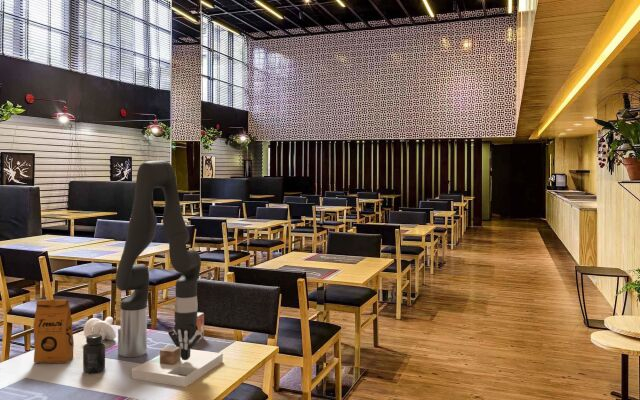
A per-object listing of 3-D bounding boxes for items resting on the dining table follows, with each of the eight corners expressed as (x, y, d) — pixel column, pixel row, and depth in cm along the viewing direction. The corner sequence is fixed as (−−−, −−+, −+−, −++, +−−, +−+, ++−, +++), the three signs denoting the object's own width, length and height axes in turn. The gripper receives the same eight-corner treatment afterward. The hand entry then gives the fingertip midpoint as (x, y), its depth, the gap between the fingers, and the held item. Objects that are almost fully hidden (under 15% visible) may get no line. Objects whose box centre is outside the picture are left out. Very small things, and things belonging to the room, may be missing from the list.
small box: (195, 343, 201) (195, 317, 200) (182, 342, 202) (182, 316, 202) (204, 337, 209) (204, 312, 208) (191, 336, 210) (191, 311, 209)
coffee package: (66, 365, 175) (66, 302, 174) (29, 365, 174) (29, 302, 173) (78, 355, 184) (78, 296, 184) (43, 355, 184) (43, 296, 183)
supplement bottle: (109, 369, 172) (109, 334, 172) (94, 376, 166) (94, 340, 165) (93, 366, 175) (93, 331, 174) (78, 373, 168) (78, 337, 168)
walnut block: (159, 363, 170) (159, 350, 170) (167, 358, 175) (167, 345, 175) (173, 364, 169) (173, 351, 169) (180, 360, 174) (180, 347, 174)
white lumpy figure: (124, 339, 205) (124, 317, 205) (100, 347, 194) (100, 324, 194) (104, 335, 210) (104, 313, 209) (79, 343, 199) (79, 320, 199)
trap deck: (131, 378, 164) (132, 369, 164) (174, 355, 187) (174, 347, 187) (185, 387, 158) (185, 377, 158) (222, 361, 181) (222, 353, 181)
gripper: (162, 309, 170) (162, 360, 170) (197, 313, 166) (196, 365, 166) (175, 304, 177) (175, 353, 177) (208, 308, 173) (208, 358, 173)
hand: (185, 359), depth 172 cm, fingers closed
